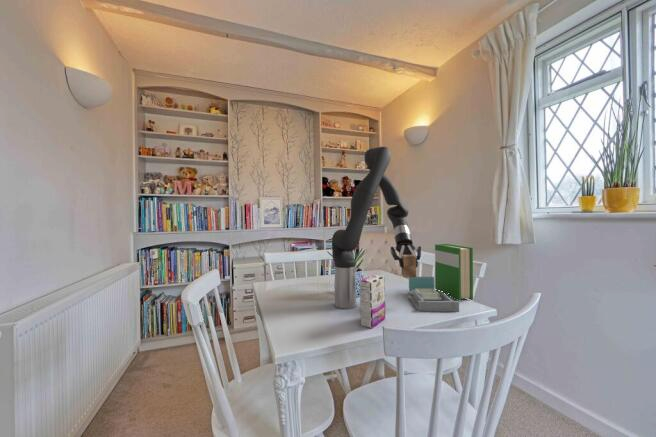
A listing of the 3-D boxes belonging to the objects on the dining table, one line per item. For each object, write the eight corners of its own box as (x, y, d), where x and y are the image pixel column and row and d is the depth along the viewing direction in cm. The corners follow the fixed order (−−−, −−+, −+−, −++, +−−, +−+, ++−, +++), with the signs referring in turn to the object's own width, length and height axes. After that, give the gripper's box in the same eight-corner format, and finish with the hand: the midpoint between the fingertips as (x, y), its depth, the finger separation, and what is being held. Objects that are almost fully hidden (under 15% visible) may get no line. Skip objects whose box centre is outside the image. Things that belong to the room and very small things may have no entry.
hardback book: (473, 299, 121) (472, 247, 121) (459, 300, 120) (458, 248, 119) (447, 289, 138) (447, 243, 138) (435, 290, 137) (435, 244, 137)
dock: (418, 310, 107) (418, 301, 107) (408, 297, 124) (408, 289, 124) (459, 311, 106) (458, 301, 106) (443, 298, 123) (443, 290, 123)
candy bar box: (373, 315, 103) (373, 274, 102) (385, 318, 100) (385, 275, 99) (359, 325, 94) (358, 279, 94) (371, 329, 91) (371, 281, 91)
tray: (417, 299, 117) (416, 284, 117) (408, 290, 132) (408, 276, 132) (444, 299, 117) (444, 284, 116) (433, 290, 131) (433, 276, 131)
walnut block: (404, 277, 112) (403, 256, 112) (401, 274, 117) (401, 254, 117) (416, 277, 112) (415, 256, 112) (413, 274, 117) (412, 254, 117)
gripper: (388, 231, 123) (393, 262, 111) (419, 231, 122) (428, 261, 110) (386, 242, 128) (391, 272, 116) (416, 241, 127) (424, 271, 115)
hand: (409, 266), depth 113 cm, fingers closed on walnut block, 5 cm apart
